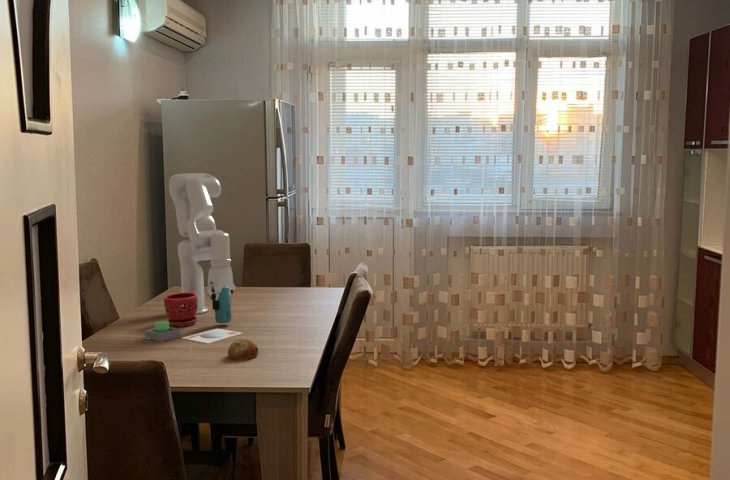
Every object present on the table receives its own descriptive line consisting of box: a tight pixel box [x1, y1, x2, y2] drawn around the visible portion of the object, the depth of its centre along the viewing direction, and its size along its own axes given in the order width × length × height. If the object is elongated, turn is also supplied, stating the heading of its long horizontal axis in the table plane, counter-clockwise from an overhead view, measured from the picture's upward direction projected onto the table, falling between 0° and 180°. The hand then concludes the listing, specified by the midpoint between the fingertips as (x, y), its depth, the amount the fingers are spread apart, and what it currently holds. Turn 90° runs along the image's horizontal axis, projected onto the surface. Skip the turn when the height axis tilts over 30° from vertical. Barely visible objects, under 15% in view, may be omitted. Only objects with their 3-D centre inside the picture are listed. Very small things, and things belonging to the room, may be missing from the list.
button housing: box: [144, 326, 181, 342], centre depth 281 cm, size 9×9×3 cm
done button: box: [154, 320, 170, 333], centre depth 281 cm, size 5×5×4 cm
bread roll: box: [227, 338, 260, 361], centre depth 255 cm, size 10×10×8 cm
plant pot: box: [163, 292, 198, 328], centre depth 302 cm, size 13×13×12 cm
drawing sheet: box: [181, 327, 244, 345], centre depth 283 cm, size 14×18×1 cm
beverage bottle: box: [214, 286, 233, 324], centre depth 299 cm, size 6×7×20 cm
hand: (221, 308), depth 299 cm, fingers open, 5 cm apart
